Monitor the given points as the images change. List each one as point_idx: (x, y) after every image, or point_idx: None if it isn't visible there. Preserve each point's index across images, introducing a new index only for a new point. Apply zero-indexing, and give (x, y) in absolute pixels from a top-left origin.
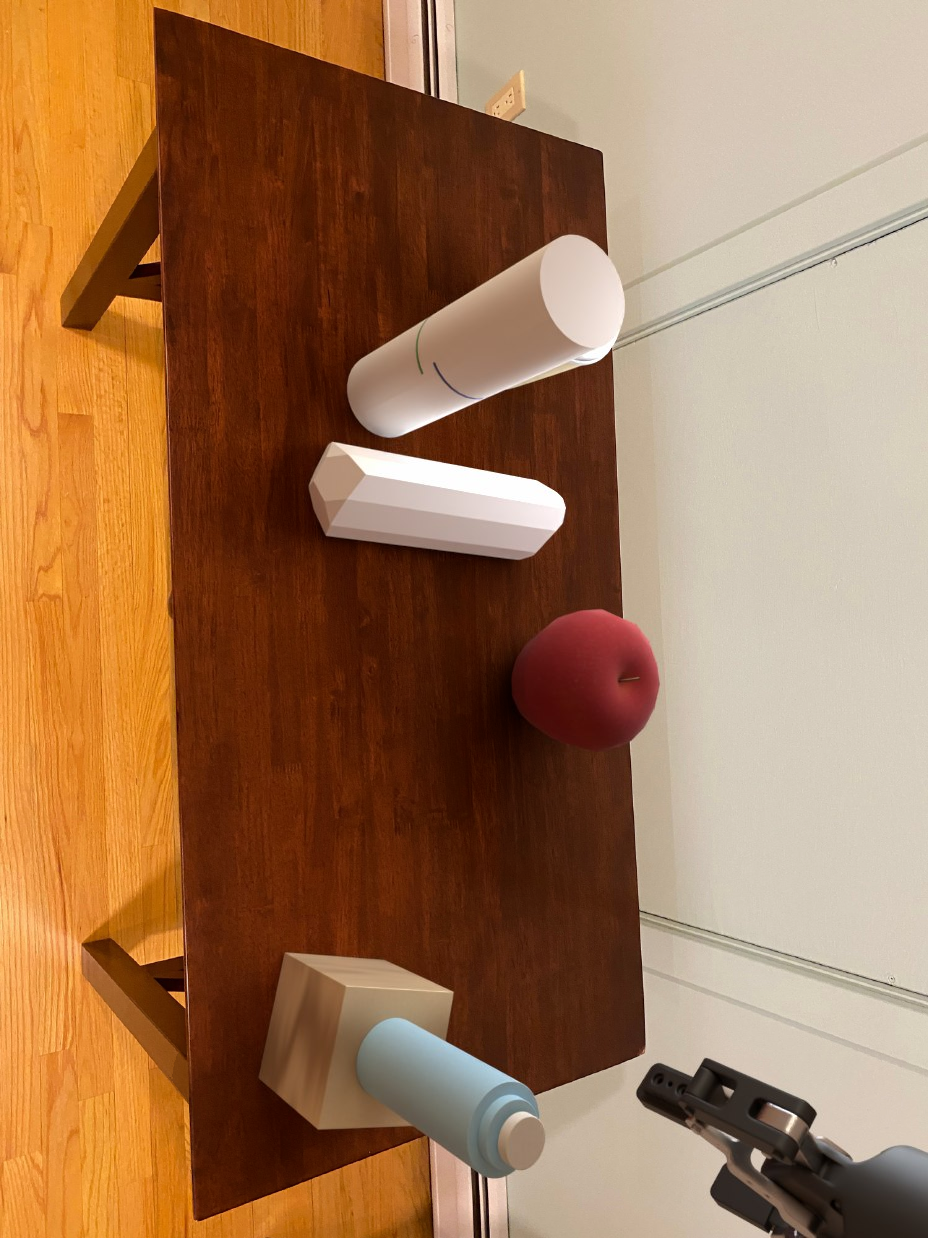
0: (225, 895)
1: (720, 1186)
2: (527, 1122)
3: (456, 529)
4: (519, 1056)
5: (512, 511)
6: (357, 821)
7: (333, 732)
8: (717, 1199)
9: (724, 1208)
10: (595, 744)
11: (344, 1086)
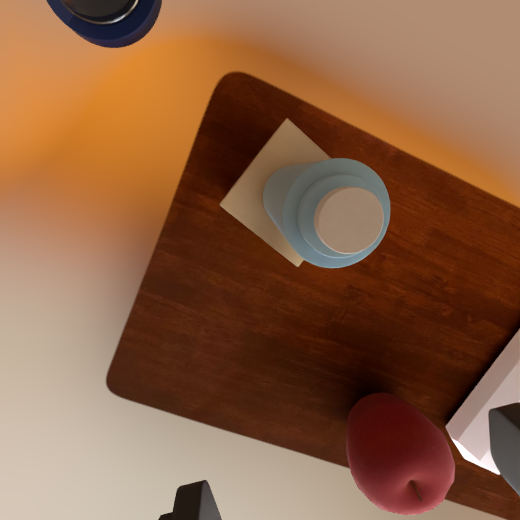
0: (387, 167)
1: (210, 509)
2: (372, 235)
3: (511, 395)
4: (157, 306)
5: None
6: (371, 264)
7: (427, 272)
8: (201, 497)
9: (177, 509)
10: (373, 444)
11: (300, 153)
